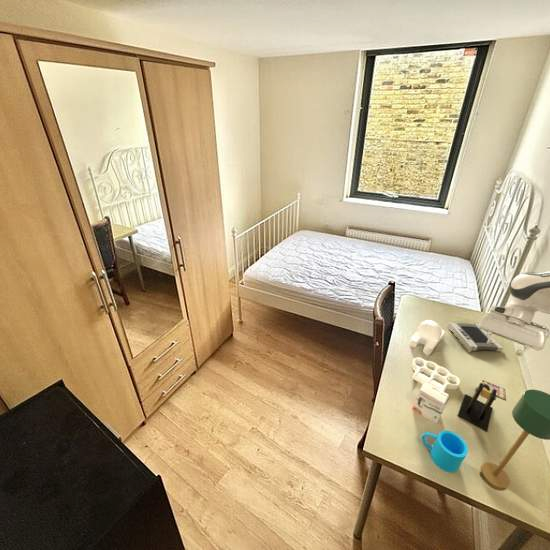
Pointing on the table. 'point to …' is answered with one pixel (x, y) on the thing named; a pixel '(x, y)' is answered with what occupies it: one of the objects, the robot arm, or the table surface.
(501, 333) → the robot arm
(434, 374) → the white brass knuckles
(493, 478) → the desk lamp
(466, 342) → the alarm clock
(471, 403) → the switch bracket
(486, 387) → the switch lever
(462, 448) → the mug
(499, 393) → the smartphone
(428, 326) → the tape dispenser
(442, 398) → the ink box
